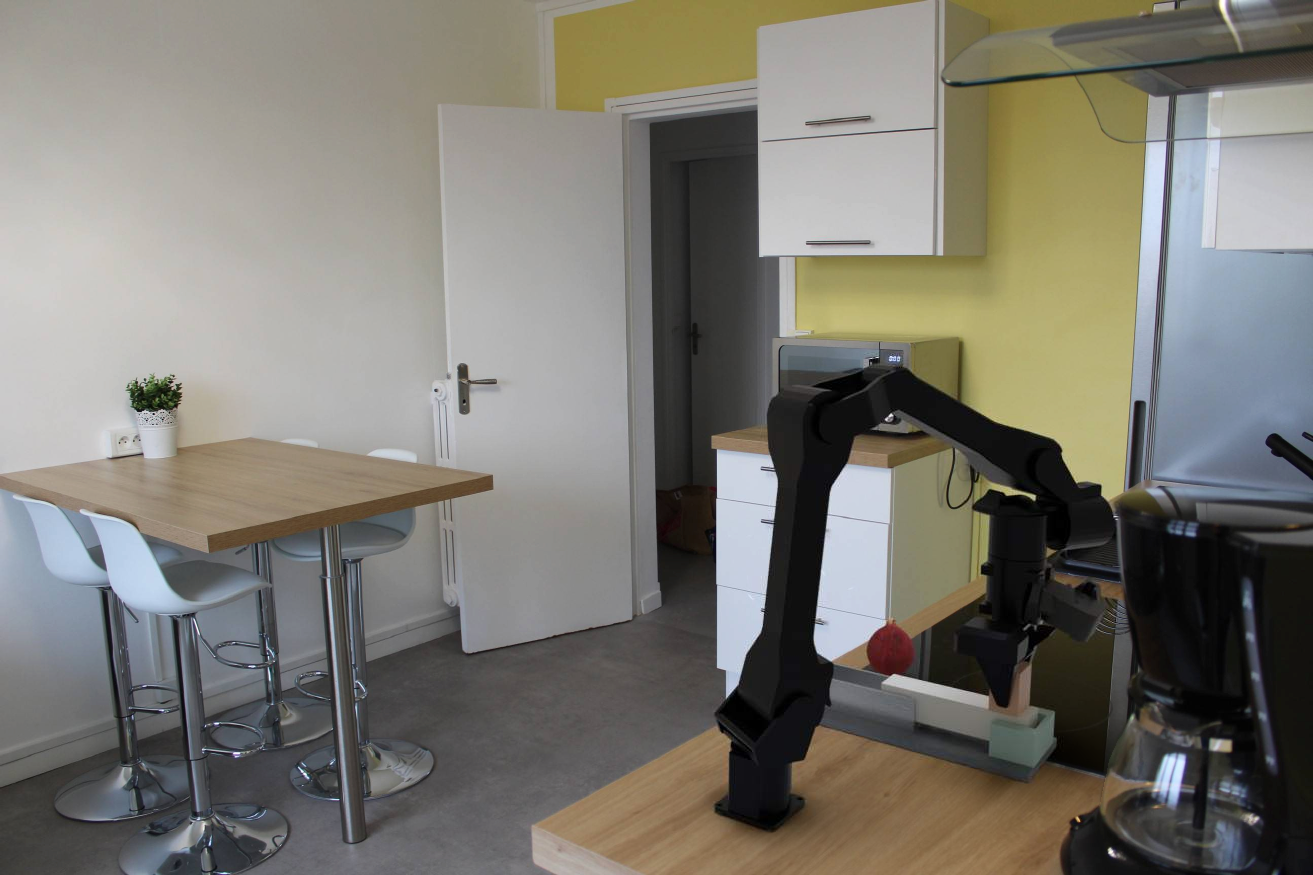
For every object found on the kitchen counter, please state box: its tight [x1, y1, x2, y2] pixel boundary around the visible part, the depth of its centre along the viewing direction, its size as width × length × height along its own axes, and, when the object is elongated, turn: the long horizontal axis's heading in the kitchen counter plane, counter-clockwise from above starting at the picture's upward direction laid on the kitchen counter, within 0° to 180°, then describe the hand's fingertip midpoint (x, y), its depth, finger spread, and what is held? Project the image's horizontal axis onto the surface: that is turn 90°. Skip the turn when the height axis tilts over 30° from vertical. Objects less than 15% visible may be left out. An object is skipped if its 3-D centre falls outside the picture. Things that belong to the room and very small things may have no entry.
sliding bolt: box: [881, 661, 1039, 740], centre depth 109 cm, size 4×16×8 cm, turn 54°
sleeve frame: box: [819, 662, 1058, 784], centre depth 111 cm, size 10×26×4 cm, turn 54°
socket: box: [989, 704, 1056, 768], centre depth 105 cm, size 7×4×4 cm, turn 144°
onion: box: [866, 617, 915, 676], centre depth 126 cm, size 6×6×8 cm
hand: (1009, 699), depth 105 cm, fingers closed on sliding bolt, 4 cm apart
